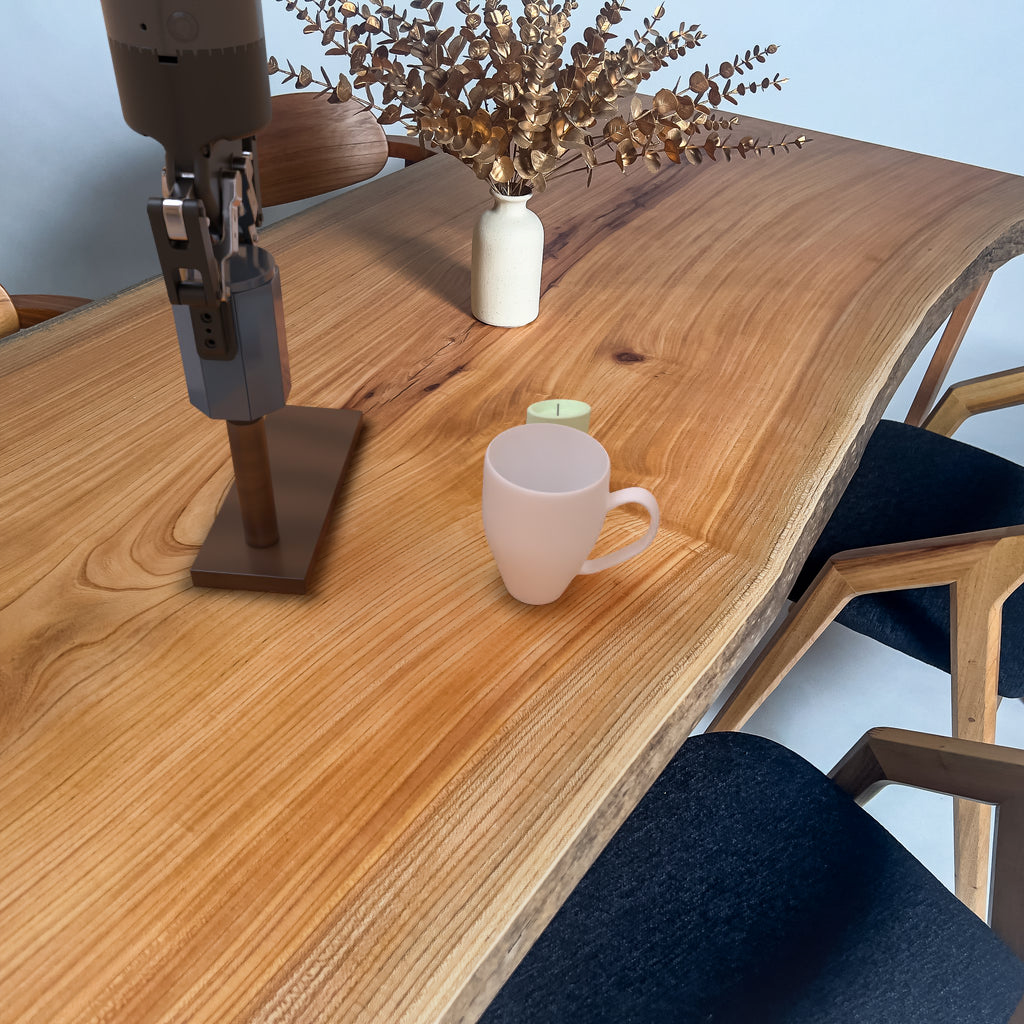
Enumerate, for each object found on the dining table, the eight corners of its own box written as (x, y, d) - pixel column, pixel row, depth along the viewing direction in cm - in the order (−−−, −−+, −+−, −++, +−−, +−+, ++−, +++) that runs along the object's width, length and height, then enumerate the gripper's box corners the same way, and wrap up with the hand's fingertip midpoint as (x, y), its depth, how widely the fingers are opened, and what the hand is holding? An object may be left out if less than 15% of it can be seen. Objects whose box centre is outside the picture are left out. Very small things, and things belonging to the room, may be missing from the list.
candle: (512, 472, 77) (518, 388, 71) (567, 463, 78) (576, 380, 73) (533, 507, 73) (542, 421, 68) (590, 497, 74) (602, 412, 69)
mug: (464, 611, 63) (469, 480, 56) (494, 538, 70) (502, 412, 62) (634, 648, 61) (661, 518, 54) (648, 569, 68) (675, 443, 61)
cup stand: (306, 595, 64) (290, 455, 56) (192, 586, 64) (161, 444, 56) (363, 424, 81) (356, 300, 73) (274, 417, 81) (258, 292, 73)
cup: (226, 431, 55) (204, 293, 49) (174, 392, 58) (148, 258, 52) (308, 397, 58) (295, 265, 53) (255, 362, 62) (238, 233, 56)
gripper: (152, -6, 50) (199, 278, 61) (54, 54, 39) (132, 389, 50) (288, 3, 51) (311, 284, 61) (229, 64, 40) (270, 395, 50)
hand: (231, 330), depth 55 cm, fingers closed on cup, 6 cm apart
